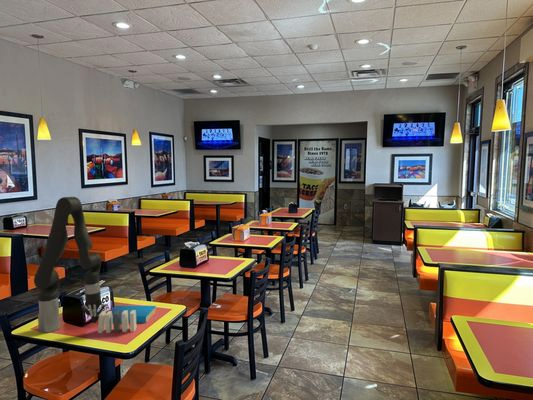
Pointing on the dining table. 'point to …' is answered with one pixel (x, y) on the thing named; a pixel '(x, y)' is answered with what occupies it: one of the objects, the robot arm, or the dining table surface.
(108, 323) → the domino
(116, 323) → the domino
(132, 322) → the domino
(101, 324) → the domino
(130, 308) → the book
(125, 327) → the domino
